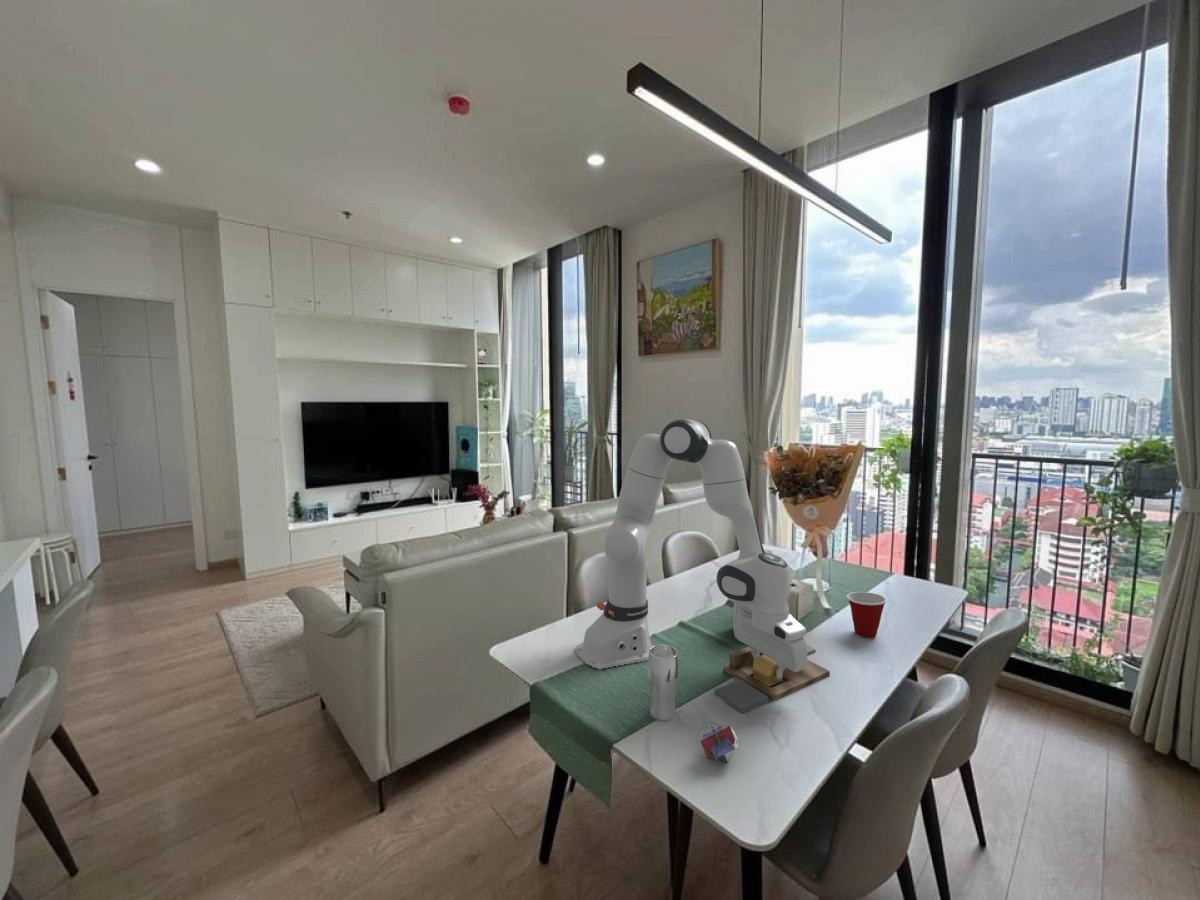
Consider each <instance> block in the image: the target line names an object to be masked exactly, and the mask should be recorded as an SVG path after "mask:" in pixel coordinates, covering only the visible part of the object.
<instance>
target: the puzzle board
mask: <svg viewBox="0 0 1200 900" xmlns="http://www.w3.org/2000/svg"><path fill="white" fill-rule="evenodd" d="M759 654H760V656H761V655H764V654H762V653H760V652H759ZM753 661H754V658H753V656H752V653H751V650H750V646H746V647H742V648H741V649H738V650H734V651H733V652H729V662H728V663H729V664H726V665H724V666H723V671H724V672H725V673H726V674H729V675H730V676H732V677H733V678H735V679H736V680H737V681H738V680H740V679H741V680H743V681H744V682H746V683H747V684H749V685H750V686H752V687H754V688H755V689H757V690H758V691H760V692H761V693H763V694H764V695H766V696H768V697H769V702H774V701H777V700H778V699H780V698H783V697H786V696H787V695H790V694H792V693H794V692H797V691H798V690H800V689H803V688H805V687H807V686H809V685H812V684H815V683H816V682H818V681H821V680H822V679H825V678H827V677H829V676H830V674H831V673H830V672H831V671H830V670H829V669H827V668H824V667H823V666H821V665H819V664H817V663H815V662H813V661H811V660H810V659H807V666H806V668H804V669H803V670H801V671H798V672H793V671H791V670H790V669H788V668H785V669H784V671H783V676H782V681H781V682H783V683H781V684H778V685H776V686H774V687H771V688H770V686H767V685H765V684H763V683H762V682H760V681H759V680H757V679H756V678H754V677H753Z"/></svg>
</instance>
